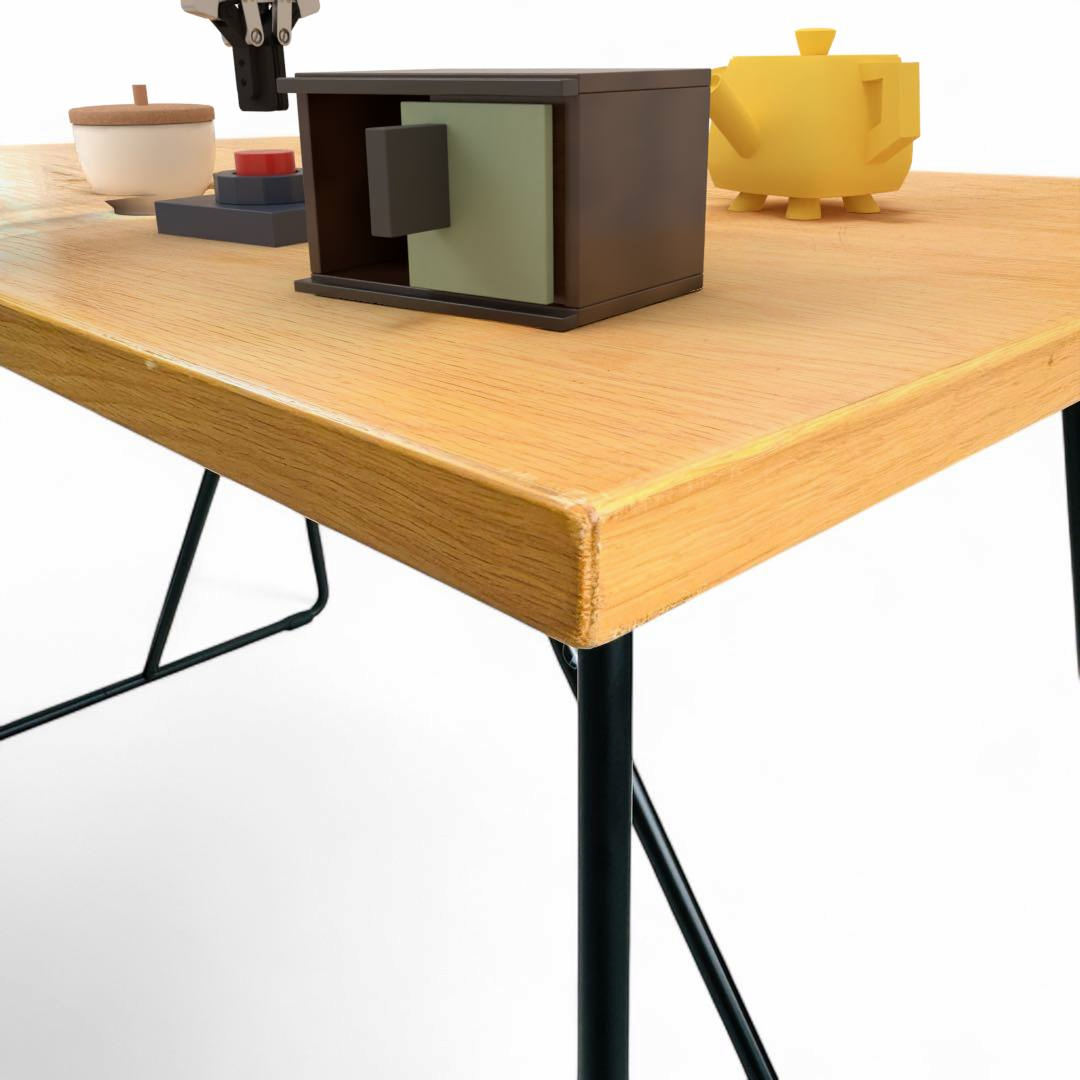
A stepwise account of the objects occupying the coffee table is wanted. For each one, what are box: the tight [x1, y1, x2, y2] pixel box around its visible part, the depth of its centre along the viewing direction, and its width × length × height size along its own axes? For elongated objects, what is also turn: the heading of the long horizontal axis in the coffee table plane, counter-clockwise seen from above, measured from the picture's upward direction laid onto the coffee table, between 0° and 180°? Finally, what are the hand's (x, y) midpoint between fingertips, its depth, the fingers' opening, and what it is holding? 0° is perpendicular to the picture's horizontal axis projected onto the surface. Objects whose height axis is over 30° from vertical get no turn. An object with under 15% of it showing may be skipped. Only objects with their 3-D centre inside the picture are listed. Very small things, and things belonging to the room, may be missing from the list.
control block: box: [154, 167, 308, 249], centre depth 83 cm, size 12×10×4 cm
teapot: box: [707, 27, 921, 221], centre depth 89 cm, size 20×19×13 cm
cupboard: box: [276, 67, 712, 332], centre depth 61 cm, size 12×17×11 cm
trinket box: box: [68, 84, 217, 217], centre depth 94 cm, size 11×11×9 cm
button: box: [233, 148, 297, 175], centre depth 82 cm, size 4×4×2 cm
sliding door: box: [365, 101, 554, 305], centre depth 53 cm, size 5×8×8 cm, turn 53°
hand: (264, 110), depth 81 cm, fingers closed
